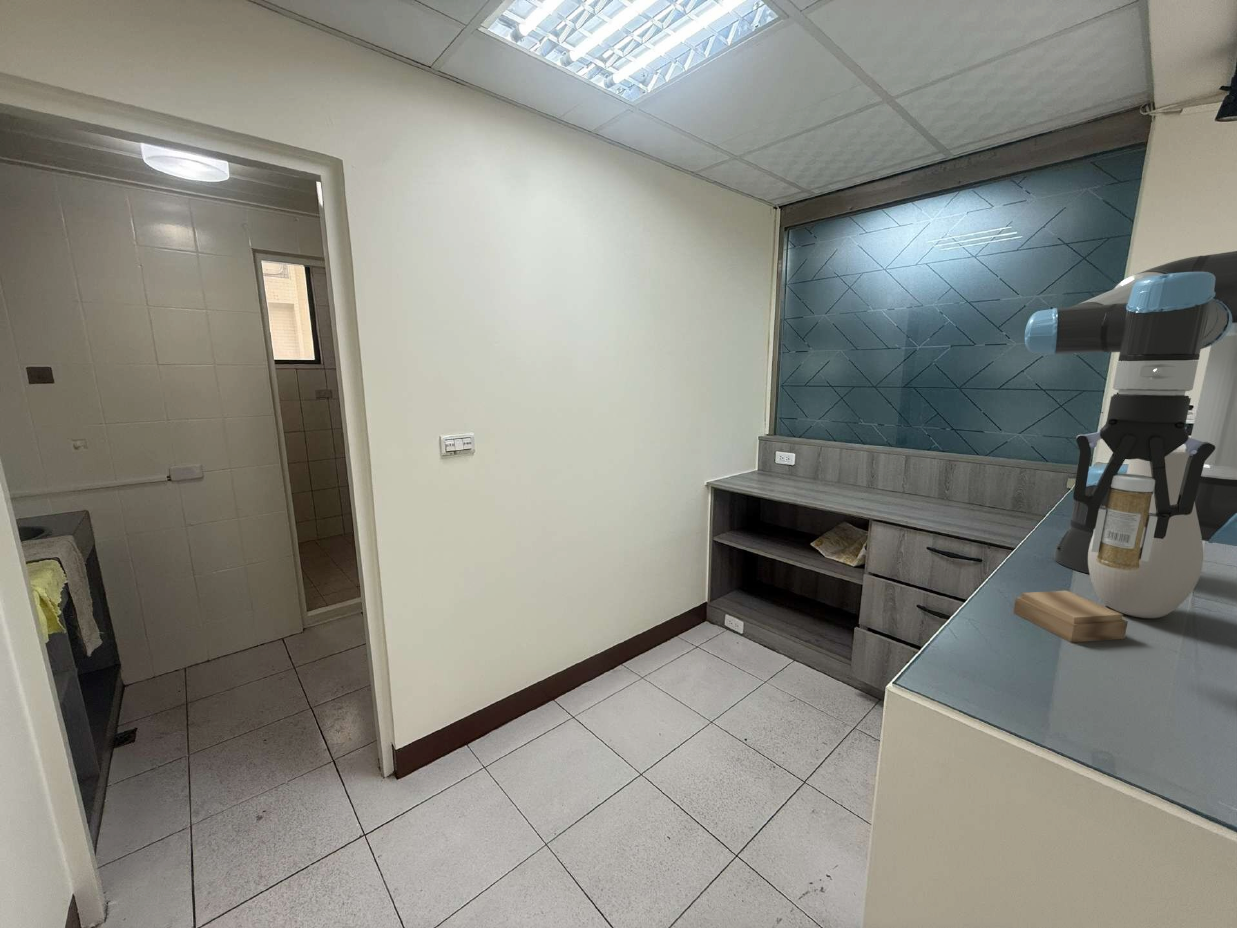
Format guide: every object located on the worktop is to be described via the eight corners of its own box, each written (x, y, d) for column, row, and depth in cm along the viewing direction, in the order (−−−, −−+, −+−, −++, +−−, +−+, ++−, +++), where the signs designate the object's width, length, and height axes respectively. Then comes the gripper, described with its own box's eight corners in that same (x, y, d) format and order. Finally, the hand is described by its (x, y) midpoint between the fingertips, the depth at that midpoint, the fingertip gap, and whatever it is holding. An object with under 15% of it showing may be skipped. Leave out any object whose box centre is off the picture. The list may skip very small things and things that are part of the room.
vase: (1188, 613, 88) (1226, 449, 83) (1188, 639, 79) (1231, 457, 74) (1084, 588, 98) (1112, 440, 93) (1074, 609, 89) (1104, 447, 84)
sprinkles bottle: (1147, 569, 70) (1166, 478, 67) (1123, 572, 69) (1142, 479, 66) (1109, 558, 74) (1125, 471, 72) (1086, 560, 73) (1102, 473, 71)
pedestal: (1061, 609, 89) (1065, 589, 88) (1124, 638, 79) (1129, 615, 79) (1013, 612, 88) (1016, 591, 87) (1070, 642, 78) (1075, 619, 77)
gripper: (1064, 392, 70) (1039, 546, 74) (1259, 395, 59) (1215, 578, 63) (1065, 390, 76) (1041, 534, 80) (1243, 394, 64) (1204, 562, 68)
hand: (1118, 553), depth 71 cm, fingers closed on sprinkles bottle, 4 cm apart
